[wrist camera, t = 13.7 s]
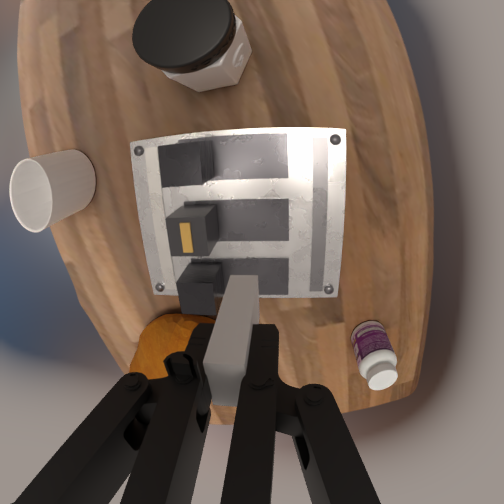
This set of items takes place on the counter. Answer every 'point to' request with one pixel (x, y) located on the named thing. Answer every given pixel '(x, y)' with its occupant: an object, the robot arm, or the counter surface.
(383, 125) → the counter surface
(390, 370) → the pill bottle
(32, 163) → the mug
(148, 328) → the bread
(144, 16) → the jar
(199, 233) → the handle
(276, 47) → the counter surface
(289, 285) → the panel
